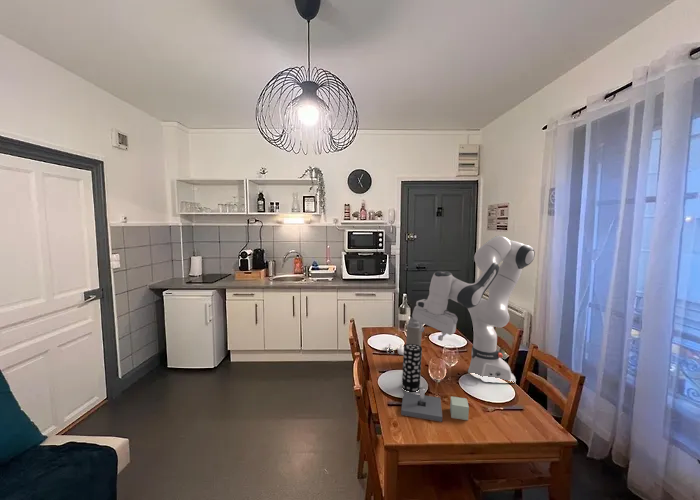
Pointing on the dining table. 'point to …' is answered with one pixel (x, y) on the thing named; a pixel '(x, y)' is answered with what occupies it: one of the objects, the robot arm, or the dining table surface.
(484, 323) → the robot arm
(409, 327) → the thermos bottle
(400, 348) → the salt and pepper shakers
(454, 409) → the sage green cube
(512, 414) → the dining table surface
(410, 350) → the white-spotted black cylinder
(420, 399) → the steel post
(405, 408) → the charcoal board
